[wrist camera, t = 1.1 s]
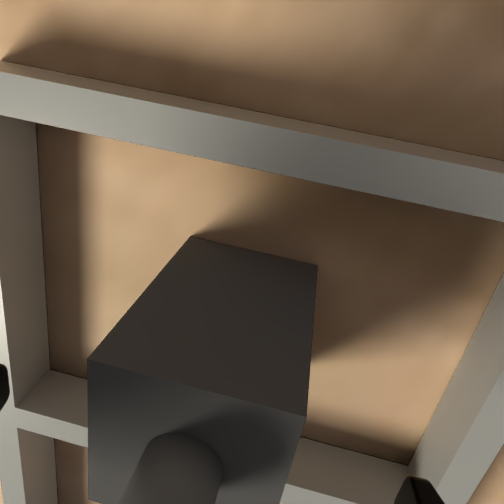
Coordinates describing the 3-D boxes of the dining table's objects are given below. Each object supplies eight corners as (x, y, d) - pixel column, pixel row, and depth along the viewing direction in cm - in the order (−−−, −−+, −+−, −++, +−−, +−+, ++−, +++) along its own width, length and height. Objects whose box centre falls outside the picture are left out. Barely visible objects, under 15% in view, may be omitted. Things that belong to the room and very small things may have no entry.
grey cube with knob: (290, 367, 14) (252, 639, 7) (178, 338, 14) (45, 574, 8) (317, 265, 12) (300, 500, 6) (190, 235, 13) (32, 424, 6)
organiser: (351, 628, 20) (357, 816, 15) (41, 533, 21) (-48, 675, 16) (596, 179, 10) (848, 287, 5) (-1, 60, 12) (-252, 54, 7)
